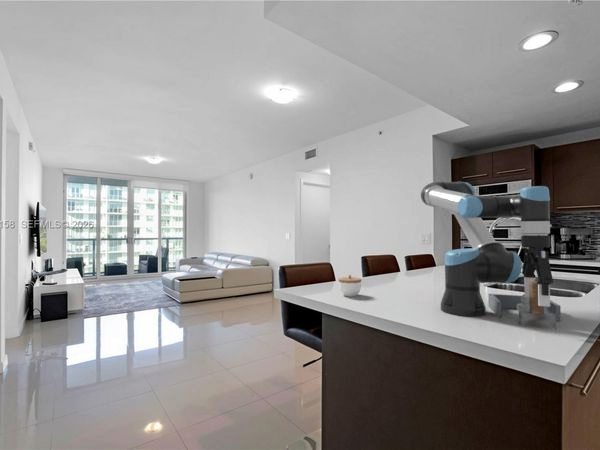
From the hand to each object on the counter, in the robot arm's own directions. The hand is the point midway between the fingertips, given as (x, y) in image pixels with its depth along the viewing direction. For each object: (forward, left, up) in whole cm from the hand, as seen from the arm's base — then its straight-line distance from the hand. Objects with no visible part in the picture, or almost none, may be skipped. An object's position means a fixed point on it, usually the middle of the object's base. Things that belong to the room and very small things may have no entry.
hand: (536, 301), depth 101 cm
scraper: (0, 0, -8) cm, 8 cm away
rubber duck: (+1, +15, -8) cm, 17 cm away
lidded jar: (-66, +27, -8) cm, 72 cm away
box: (0, +16, -8) cm, 18 cm away
